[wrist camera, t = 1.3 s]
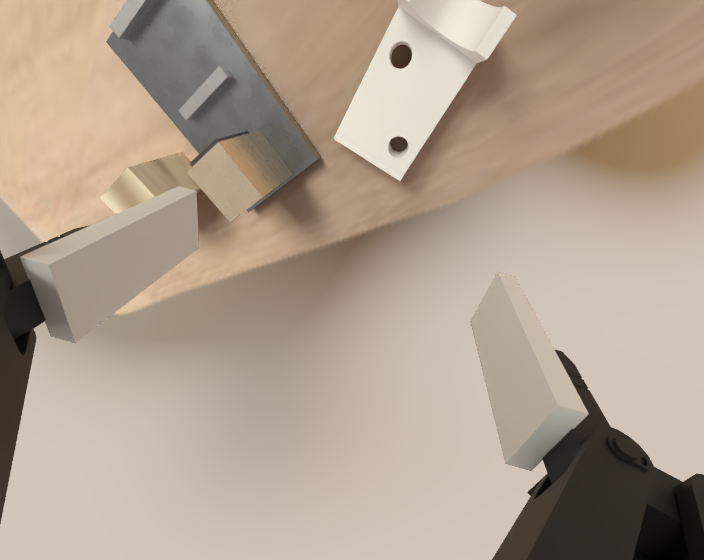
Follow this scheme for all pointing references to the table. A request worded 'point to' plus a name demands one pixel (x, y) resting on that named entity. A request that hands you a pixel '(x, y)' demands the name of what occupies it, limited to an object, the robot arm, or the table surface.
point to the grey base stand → (213, 99)
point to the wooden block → (149, 182)
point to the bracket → (418, 76)
